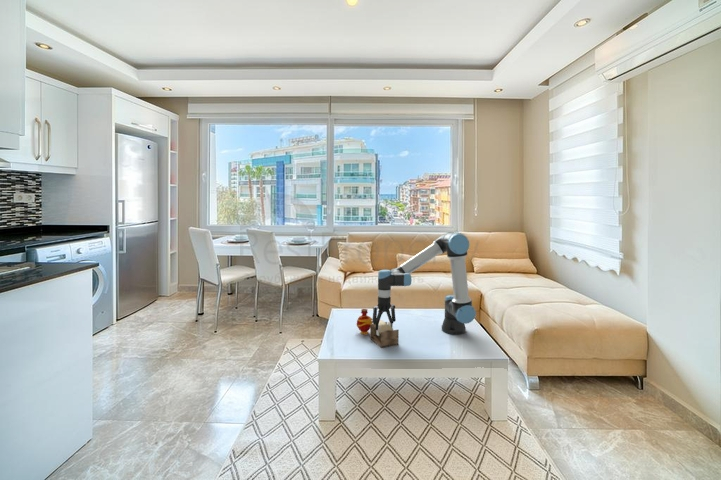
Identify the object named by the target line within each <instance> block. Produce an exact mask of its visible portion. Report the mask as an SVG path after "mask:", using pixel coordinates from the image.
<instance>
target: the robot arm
mask: <svg viewBox="0 0 721 480" xmlns="http://www.w3.org/2000/svg"><path fill="white" fill-rule="evenodd" d="M469 249H470V241H469V239H468V237H467V236H466V235H465V234H463V233H459V232H454V231H449V232H446V233H443V234H442V235H440V236H439V237H438V238H436V239H434V241H432V244H430V245H429V246H427V247H426V248H424V249H423V250H421V251H420V252H418V253H417V254H416V255H414V256H413V257H411V258H409V259H408V260H407V261H405V262H404V263H402V264H401V265H399V266H398V267H396V268H394V267H393V268H392V269H391V270H390V269H381V270H378V276H377V295H378V296H377V305H376V306H372V310H373V313H372V324H375V329H376V334H377V335H378V336H380V325H379V321H380V320H381V318H382V315H383V313H385V314H386V315H387V318H388V321H387V324H388V325H389V326H391V327H392V328H393V324H394V322H396V310H395V309H396V305H394V304H391V303H392V302H391V300H392V299H391V295H392V294H391V293H392V289H391V288H392V287H410V286H411V285H412V275H411V274H412V273H413V272H415V271H416V270H418V269H419V268H421V267H423V265H425V264H427V263H428V262H429V261H431V260H433V259H434V258H435V257H437V256H438V255H442V254H444V253H446V256H447V258H449V260H450V271H451V281H452V289H453V290H452V291H453V294H448V295H446V296H444V317H443V318H444V319H443V322H442V325H441V331H442V332H443V333H445V334H449V335H450V334H451V335H463V334H465V333H466V331H467V329H466V324H467V325H468V324H469V323H471V322H473V320H475V318H476V316H477V312H476V309H475V308H474V306H473V301H472V298H471V297H470V296H469V287H468V277H467V276H468V275H467V266H466V265H467V264H466V257H467V256H468V251H469Z"/></svg>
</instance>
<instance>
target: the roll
mask: <svg viewBox="0 0 721 480" xmlns="http://www.w3.org/2000/svg"><path fill="white" fill-rule="evenodd" d="M385 322H386V321H384V320H381V319H380V321H379V325H380V334H381V332H385V331H391V330H394V328H393V327H391V326H389V325H388V322H387V323H385ZM375 330H376V329H375Z"/></svg>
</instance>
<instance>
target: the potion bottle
mask: <svg viewBox="0 0 721 480" xmlns="http://www.w3.org/2000/svg"><path fill="white" fill-rule="evenodd" d="M368 313H369V312H368V308H361V312H360V314H361V315H359V316H358V317H357V319H356V327H357V328H358V330H359V331H360V334H361V335H368V334H369V330H370V324H373V323H372V319H373V317H371V316H369V315H368Z"/></svg>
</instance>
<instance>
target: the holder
mask: <svg viewBox="0 0 721 480" xmlns="http://www.w3.org/2000/svg"><path fill="white" fill-rule="evenodd" d="M384 322H385V323H387V324H388V321H384ZM369 330H370V336H369V338H370V339H371V340H372V341H373V342H374V343H375V344H376V345H378V347H379V348H381V349H384V348H389V347H395V346H399V329H393V330H391V331H385V332H381V334H380V336H378V335H377V334H376V330H375V324H373V323H372V324H370V329H369Z"/></svg>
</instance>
